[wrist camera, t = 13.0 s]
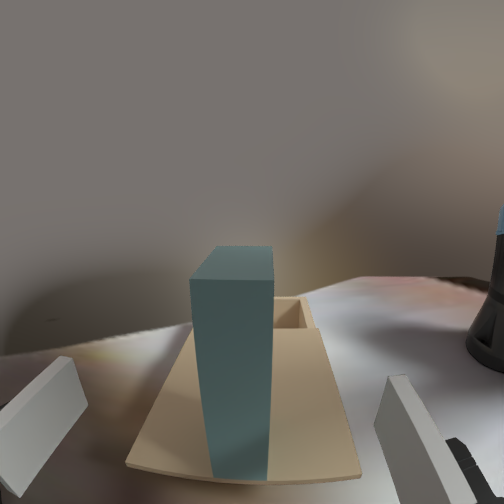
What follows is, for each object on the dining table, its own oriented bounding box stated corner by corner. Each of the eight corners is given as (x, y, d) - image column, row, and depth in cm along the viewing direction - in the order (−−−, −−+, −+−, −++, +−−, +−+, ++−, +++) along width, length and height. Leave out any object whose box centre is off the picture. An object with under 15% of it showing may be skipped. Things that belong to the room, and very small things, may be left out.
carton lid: (360, 478, 13) (417, 278, 10) (127, 466, 14) (68, 273, 11) (318, 332, 32) (324, 219, 30) (193, 330, 33) (186, 219, 30)
